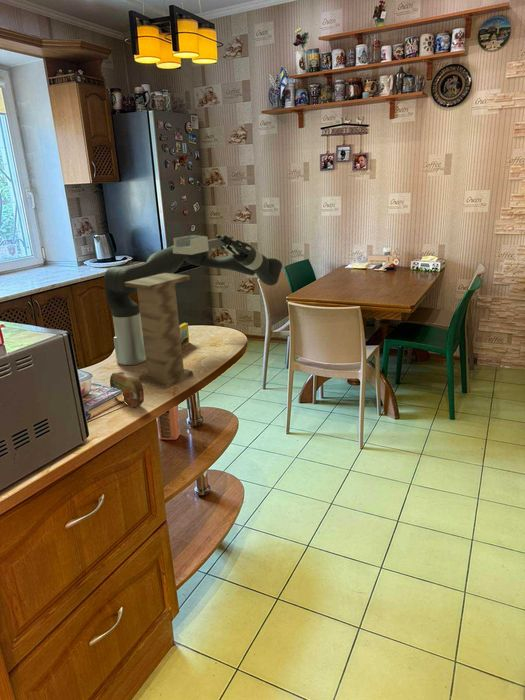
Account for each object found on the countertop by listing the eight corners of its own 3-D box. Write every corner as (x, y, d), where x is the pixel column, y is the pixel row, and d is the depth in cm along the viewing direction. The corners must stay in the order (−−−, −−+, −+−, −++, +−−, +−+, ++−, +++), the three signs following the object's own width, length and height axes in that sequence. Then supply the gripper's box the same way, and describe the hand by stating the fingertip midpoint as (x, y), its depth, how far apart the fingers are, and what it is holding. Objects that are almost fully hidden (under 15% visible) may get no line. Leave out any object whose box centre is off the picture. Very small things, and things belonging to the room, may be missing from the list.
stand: (163, 389, 149) (150, 285, 138) (137, 381, 156) (123, 282, 145) (199, 372, 161) (190, 275, 150) (173, 365, 168) (163, 272, 157)
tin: (111, 396, 146) (106, 370, 143) (120, 393, 148) (116, 367, 146) (137, 411, 136) (133, 383, 133) (147, 407, 138) (144, 380, 135)
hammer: (191, 254, 152) (189, 239, 150) (173, 253, 156) (171, 238, 155) (239, 244, 170) (239, 230, 168) (222, 243, 174) (221, 230, 173)
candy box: (169, 357, 177) (167, 335, 174) (164, 357, 177) (161, 335, 174) (190, 343, 191) (188, 322, 188) (185, 342, 192) (183, 322, 189)
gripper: (260, 267, 177) (232, 249, 163) (230, 264, 185) (201, 247, 171) (266, 247, 178) (238, 227, 163) (236, 245, 185) (207, 226, 171)
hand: (219, 237), depth 167 cm, fingers closed on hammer, 2 cm apart
